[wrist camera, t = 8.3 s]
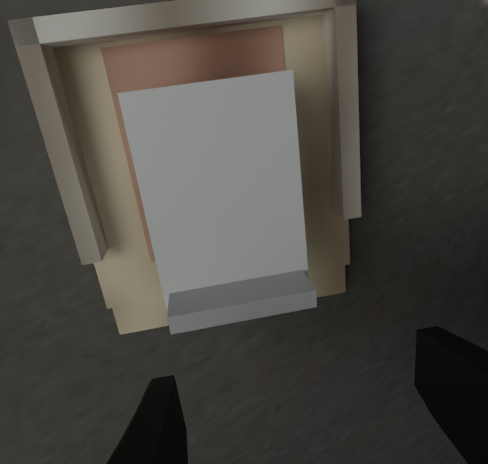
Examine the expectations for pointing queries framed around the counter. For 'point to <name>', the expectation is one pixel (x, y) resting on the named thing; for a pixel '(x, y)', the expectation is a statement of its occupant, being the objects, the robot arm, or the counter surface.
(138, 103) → the grey ledged block
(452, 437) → the robot arm
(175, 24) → the dock
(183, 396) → the counter surface
